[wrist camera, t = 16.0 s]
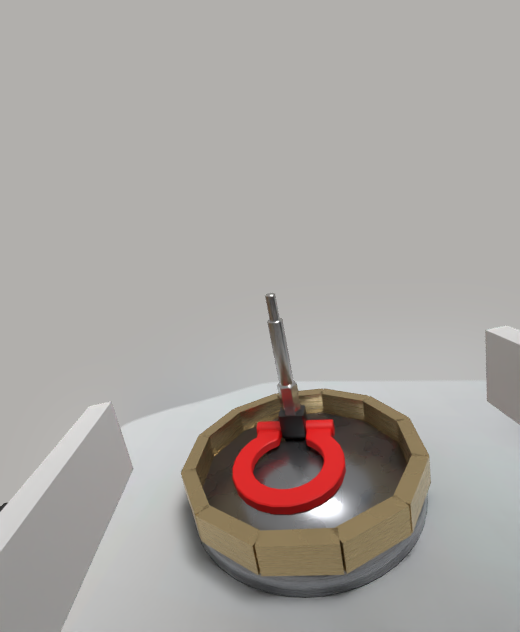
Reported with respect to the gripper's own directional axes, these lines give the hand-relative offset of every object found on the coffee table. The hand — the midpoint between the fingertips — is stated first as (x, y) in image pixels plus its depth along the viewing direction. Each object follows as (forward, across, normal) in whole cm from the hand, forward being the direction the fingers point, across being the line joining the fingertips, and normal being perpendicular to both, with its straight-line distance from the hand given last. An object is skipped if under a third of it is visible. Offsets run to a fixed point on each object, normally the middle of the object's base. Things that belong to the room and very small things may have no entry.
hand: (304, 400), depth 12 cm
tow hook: (+12, -1, -12) cm, 17 cm away
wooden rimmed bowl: (+12, 0, -14) cm, 18 cm away
